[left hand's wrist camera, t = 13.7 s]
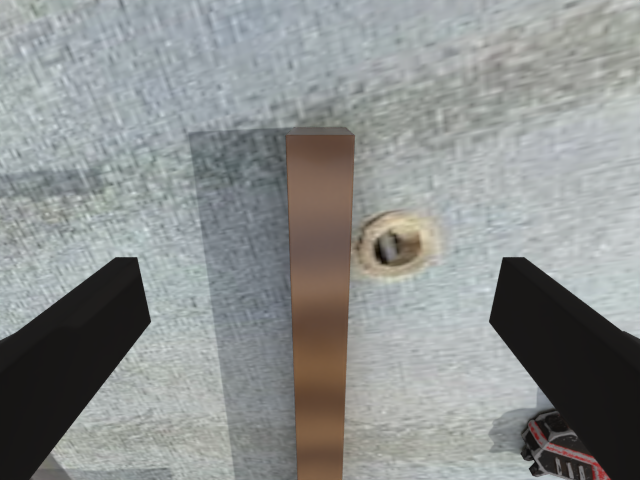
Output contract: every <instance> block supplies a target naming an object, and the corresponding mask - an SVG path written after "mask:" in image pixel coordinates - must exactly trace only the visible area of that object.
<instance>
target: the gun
mask: <svg viewBox="0 0 640 480" xmlns="http://www.w3.org/2000/svg"><path fill="white" fill-rule="evenodd" d="M528 427H529V428H528V429H527V430H526V431H525V432H524V433H523V434H522V438H523V440H524V441H525V443H526V445H527V447H526V448H525V449H524V450H523V451H522V452H521V455H522V457H523V459H524V460H526V461H531V460H534V461H535V462H534V463H533V465H532V466H531V467H530V468H529V470H530V472H531V474H532V476H535V477H539V476H543V475H547V474H551V475H554V476H557V477H560V478H564V479H567V480H611V479H610V478H609V477H608V475H607V474H606V473H605V471H604V470H603V469H602V468H601V466H600V465H599V464H598V462H597V461H596V460H595V459H594V457H593V456H592V455H591V453H590V452H589V451H588V449H587V448H586V447H585V446H584V444H583V443H582V442H581V440H580V439H579V438H578V437H577V435H576V434H575V433H574V431H573V430H572V429H571V427H570V426H569V425H568V424H567V422H566V421H565V420H564V418H563V417H562V416H561V415H560V413H559V412H558V411H554V412H550V413H546V414H541V415H539V416H538V417H537V419H536V420H530V421H529V423H528Z"/></svg>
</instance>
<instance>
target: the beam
mask: <svg viewBox="0 0 640 480" xmlns="http://www.w3.org/2000/svg"><path fill="white" fill-rule="evenodd" d="M354 144H355V135H354V134H353V133H352V132H351V131H349V130H348V129H347V128H346V127H294V128H293V129H292V130H291V131H290V132H289V133H288V134H287V135H286V160H287V189H288V218H289V247H290V276H291V305H292V334H293V363H294V392H295V421H296V449H297V478H298V480H342V470H343V443H344V416H345V389H346V362H347V334H348V307H349V280H350V253H351V225H352V198H353V171H354Z"/></svg>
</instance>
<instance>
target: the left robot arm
mask: <svg viewBox="0 0 640 480" xmlns="http://www.w3.org/2000/svg"><path fill="white" fill-rule="evenodd" d="M150 323H151V319H150V315H149V310H148V305H147V301H146V296H145V292H144V287H143V282H142V278H141V273H140V268H139V264H138V259H137V257H115V258H114V259H113V260H112V261H110V262H109V263H108V264H106V265H105V266H104V267H102V268H101V269H100V270H98V271H97V272H96V273H94V274H93V275H92V276H90V277H89V278H88V279H86V280H85V281H84V282H82V283H81V284H80V285H78V286H77V287H76V288H74V289H73V290H72V291H70V292H69V293H68V294H66V295H65V296H64V297H62V298H61V299H60V300H58V301H57V302H56V303H54V304H53V305H52V306H51V307H49V308H48V309H47V310H45V311H44V312H43V313H41V314H40V315H39V316H37V317H36V318H35V319H33V320H32V321H31V322H29V323H28V324H27V325H25V326H24V327H23V328H21V329H20V330H19V331H17V332H16V333H14V334H12V335H10V336H8V337H6V338H4V339H2V340H0V480H29V479H30V478H31V477H32V475H33V474H34V473H35V471H36V470H37V469H38V468H39V466H40V465H41V464H42V462H43V461H44V460H45V459H46V457H47V456H48V455H49V453H50V452H51V451H52V449H53V448H54V447H55V446H56V444H57V443H58V442H59V440H60V439H61V438H62V437H63V435H64V434H65V433H66V431H67V430H68V429H69V427H70V426H71V425H72V424H73V422H74V421H75V420H76V418H77V417H78V416H79V415H80V413H81V412H82V411H83V409H84V408H85V407H86V405H87V404H88V403H89V402H90V400H91V399H92V398H93V396H94V395H95V394H96V393H97V391H98V390H99V389H100V387H101V386H102V385H103V383H104V382H105V381H106V380H107V378H108V377H109V376H110V374H111V373H112V372H113V371H114V369H115V368H116V367H117V365H118V364H119V363H120V361H121V360H122V359H123V358H124V356H125V355H126V354H127V352H128V351H129V350H130V349H131V347H132V346H133V345H134V343H135V342H136V341H137V339H138V338H139V337H140V336H141V334H142V333H143V332H144V330H145V329H146V328H147V327H148V325H149V324H150ZM489 323H490V324H491V325H492V327H493V328H494V329H495V330H496V332H497V333H498V334H499V336H500V337H501V338H502V339H503V341H504V342H505V343H506V345H507V346H508V347H509V349H510V350H511V351H512V352H513V354H514V355H515V356H516V358H517V359H518V360H519V361H520V363H521V364H522V365H523V367H524V368H525V369H526V371H527V372H528V373H529V374H530V376H531V377H532V378H533V380H534V381H535V382H536V383H537V385H538V386H539V387H540V389H541V390H542V391H543V393H544V394H545V395H546V396H547V398H548V399H549V400H550V402H551V403H552V404H553V405H554V407H555V408H556V409H557V411H558V412H559V413H560V415H561V416H562V417H563V418H564V420H565V421H566V422H567V424H568V425H569V426H570V427H571V429H572V430H573V431H574V433H575V434H576V435H577V437H578V438H579V439H580V440H581V442H582V443H583V444H584V446H585V447H586V448H587V449H588V451H589V452H590V453H591V455H592V456H593V457H594V459H595V460H596V461H597V462H598V464H599V465H600V466H601V468H602V469H603V470H604V471H605V473H606V474H607V475H608V477H609V478H610V479H611V480H640V339H639V338H637V337H635V336H633V335H631V334H629V333H627V332H625V331H621V330H620V329H619V328H617V327H616V326H615V325H613V324H612V323H611V322H609V321H608V320H607V319H605V318H604V317H603V316H601V315H600V314H599V313H597V312H596V311H595V310H593V309H592V308H591V307H589V306H588V305H587V304H585V303H584V302H583V301H582V300H580V299H579V298H578V297H576V296H575V295H574V294H572V293H571V292H570V291H568V290H567V289H566V288H564V287H563V286H562V285H560V284H559V283H558V282H556V281H555V280H554V279H552V278H551V277H550V276H548V275H547V274H546V273H544V272H543V271H542V270H540V269H539V268H538V267H536V266H535V265H534V264H532V263H531V262H530V261H528V260H527V259H526V258H525V257H503V259H502V264H501V268H500V273H499V278H498V282H497V287H496V292H495V296H494V301H493V305H492V310H491V315H490V319H489Z"/></svg>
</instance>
